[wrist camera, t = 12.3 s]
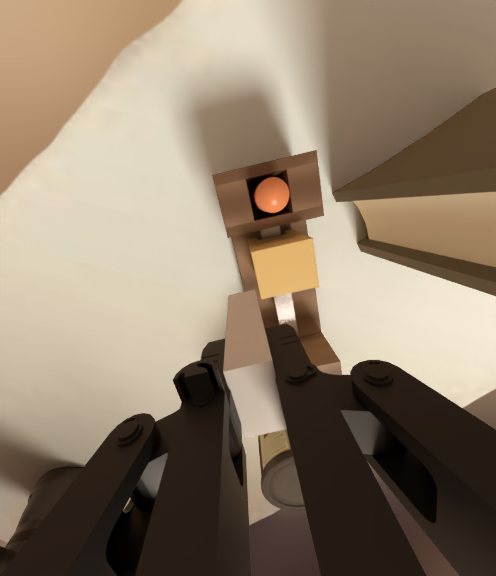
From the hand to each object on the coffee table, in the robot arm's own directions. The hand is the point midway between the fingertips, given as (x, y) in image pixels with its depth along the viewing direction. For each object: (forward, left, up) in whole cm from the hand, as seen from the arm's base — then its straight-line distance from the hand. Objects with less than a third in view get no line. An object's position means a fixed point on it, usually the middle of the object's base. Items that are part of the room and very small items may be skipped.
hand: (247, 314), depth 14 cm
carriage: (+4, -1, -20) cm, 21 cm away
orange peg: (+4, +6, -17) cm, 18 cm away
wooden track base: (+4, -6, -22) cm, 23 cm away
